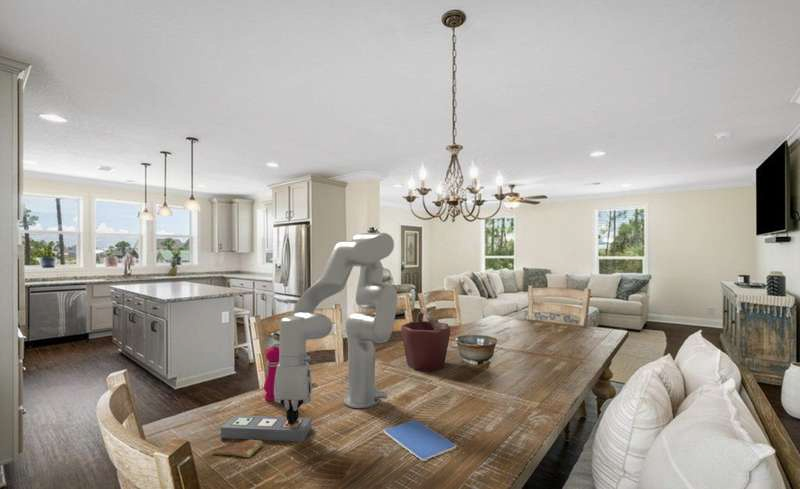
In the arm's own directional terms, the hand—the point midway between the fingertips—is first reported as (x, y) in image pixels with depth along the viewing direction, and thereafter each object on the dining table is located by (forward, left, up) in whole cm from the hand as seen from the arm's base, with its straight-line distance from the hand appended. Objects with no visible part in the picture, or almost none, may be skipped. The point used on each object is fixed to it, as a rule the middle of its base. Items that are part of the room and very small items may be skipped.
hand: (292, 422), depth 110 cm
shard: (+10, +11, -4) cm, 16 cm away
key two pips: (+15, 0, -2) cm, 15 cm away
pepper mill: (+16, -25, -4) cm, 30 cm away
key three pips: (0, 0, -2) cm, 2 cm away
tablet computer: (-37, 0, -4) cm, 37 cm away
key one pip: (+8, 0, -2) cm, 8 cm away
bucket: (-38, -68, -4) cm, 78 cm away
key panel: (+8, 0, -3) cm, 8 cm away
